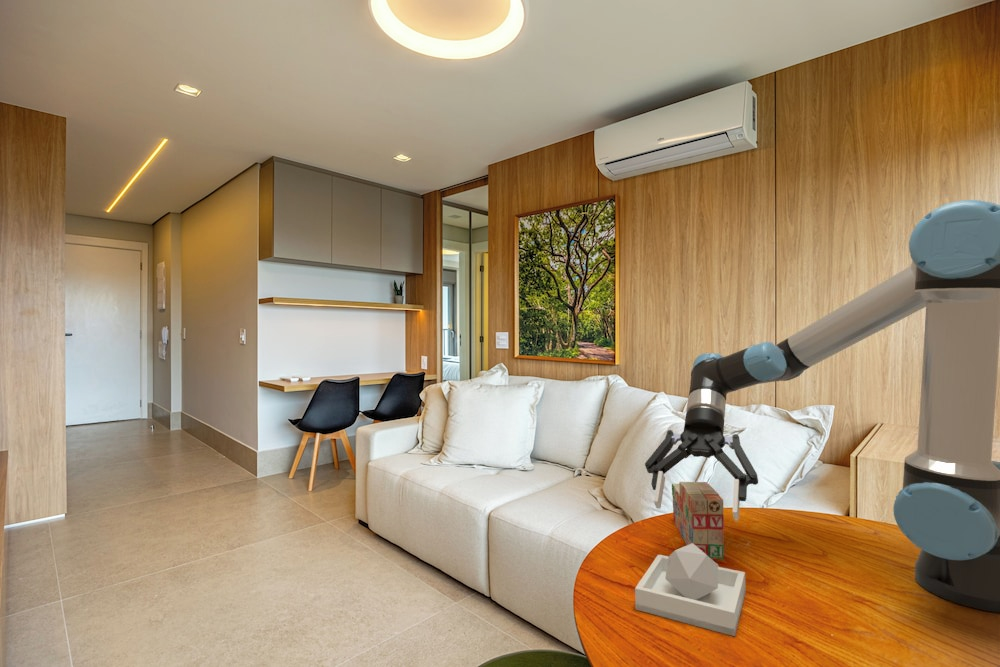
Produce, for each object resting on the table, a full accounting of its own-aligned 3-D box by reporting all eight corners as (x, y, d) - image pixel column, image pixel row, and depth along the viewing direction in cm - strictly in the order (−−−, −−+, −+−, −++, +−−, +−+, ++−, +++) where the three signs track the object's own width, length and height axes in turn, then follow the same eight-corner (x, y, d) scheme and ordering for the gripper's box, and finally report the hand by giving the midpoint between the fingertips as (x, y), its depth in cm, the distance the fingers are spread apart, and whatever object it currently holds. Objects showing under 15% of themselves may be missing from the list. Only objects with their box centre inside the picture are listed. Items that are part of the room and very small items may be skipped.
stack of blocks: (672, 520, 123) (671, 470, 123) (699, 521, 122) (697, 471, 122) (692, 558, 102) (691, 497, 102) (725, 560, 101) (723, 498, 101)
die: (688, 581, 91) (656, 540, 91) (731, 568, 87) (698, 526, 86) (685, 618, 84) (650, 575, 84) (732, 607, 80) (696, 561, 79)
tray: (745, 592, 88) (745, 572, 88) (734, 636, 75) (734, 612, 75) (658, 572, 95) (658, 554, 95) (635, 609, 83) (635, 588, 83)
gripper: (773, 430, 100) (773, 531, 87) (648, 423, 113) (632, 510, 100) (771, 407, 96) (770, 510, 83) (641, 403, 109) (623, 490, 96)
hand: (694, 510), depth 91 cm, fingers open, 13 cm apart
